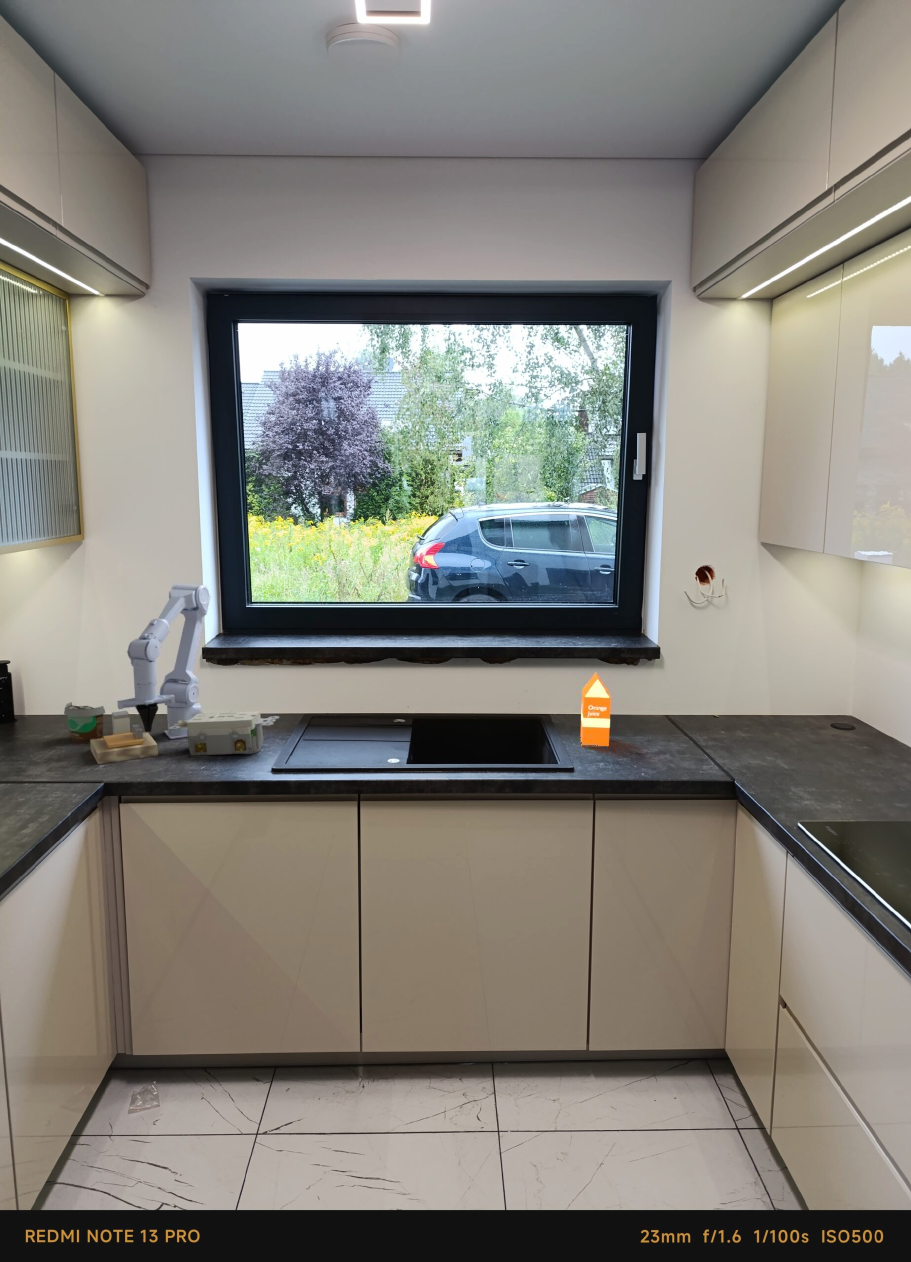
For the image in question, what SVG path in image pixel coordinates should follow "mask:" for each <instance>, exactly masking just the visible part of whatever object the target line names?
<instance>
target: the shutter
mask: <svg viewBox="0 0 911 1262" xmlns="http://www.w3.org/2000/svg"><path fill="white" fill-rule="evenodd" d="M131 729H132V730H131V731H132V732H130V733H124V734H117V735H113V734H110V735H103V740H104V742H105V743H106V745H107V747H108V748H113V747H120V746H127V745H134V744H142V743H144V740H143V733H144V732H143V729H142V727H141V726H140V725H139V724H132V725H131Z"/></svg>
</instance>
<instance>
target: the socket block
mask: <svg viewBox="0 0 911 1262" xmlns="http://www.w3.org/2000/svg"><path fill="white" fill-rule="evenodd" d="M143 740H144V743H142V744H134V745H127V746H120V747H113V748H108V747H107V745H106V743H105V742H104V740H103V738H100V739H93V740H90V743H89V745H90V752H91V753H92V755H93V757H94V758H95V760H96V762H97V765H101V764H108V763H114V762H115V763H116V762H121V761H128V760H129V761H130V760H135V759H141V758H142V759H143V758H147V757H155V756H159V753H158V752H159V751H158V744H157V742H156V741H155V740H154V738H153V737H152V736H151V735H150V732H145V731H144V732H143Z"/></svg>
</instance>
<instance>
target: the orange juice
mask: <svg viewBox="0 0 911 1262" xmlns="http://www.w3.org/2000/svg"><path fill="white" fill-rule="evenodd" d="M611 701H612V698H611V694H610V691H609V690H608V688H607V687H606V686H605V684H604V683H603V681H602V680H601V678H600V676H599V675H598V673H597V672H595V673H594V674H593V676H592V677H590V679H589V680H588V682H587V683H585V686H583V688H582V690H581V706H580V707H581V709H580V710H581V714H580V737H581V738H580V743H581V742H582V744H581V746H582V745H596V746H597V745H598V746H610V744H609V743H610V730H611V729H610V727H611V704H612V702H611Z"/></svg>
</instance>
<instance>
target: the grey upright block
mask: <svg viewBox="0 0 911 1262" xmlns="http://www.w3.org/2000/svg"><path fill="white" fill-rule="evenodd" d="M111 721H112V722H111V723H112V735H117V734H124V733H131V723H130V721H131V719H130V713H129V712H128V711H127V710H122V711H113V712H112V711H111Z"/></svg>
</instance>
